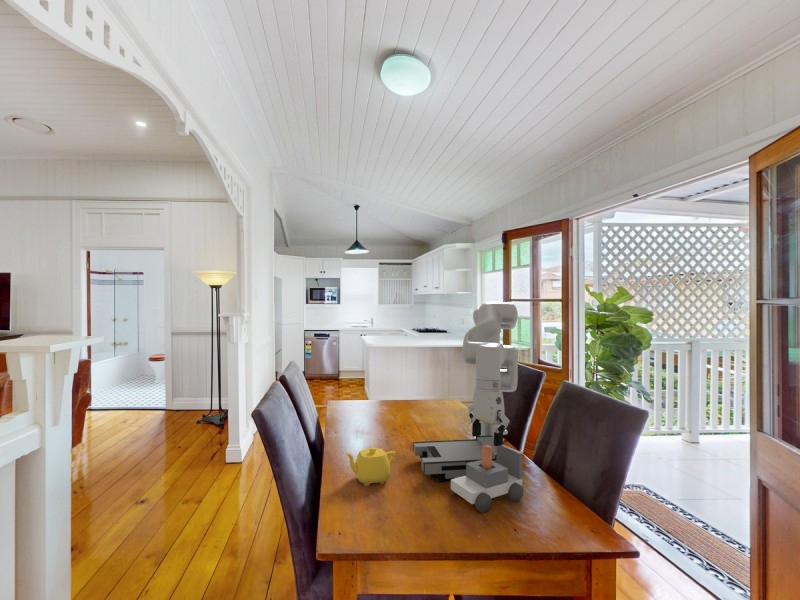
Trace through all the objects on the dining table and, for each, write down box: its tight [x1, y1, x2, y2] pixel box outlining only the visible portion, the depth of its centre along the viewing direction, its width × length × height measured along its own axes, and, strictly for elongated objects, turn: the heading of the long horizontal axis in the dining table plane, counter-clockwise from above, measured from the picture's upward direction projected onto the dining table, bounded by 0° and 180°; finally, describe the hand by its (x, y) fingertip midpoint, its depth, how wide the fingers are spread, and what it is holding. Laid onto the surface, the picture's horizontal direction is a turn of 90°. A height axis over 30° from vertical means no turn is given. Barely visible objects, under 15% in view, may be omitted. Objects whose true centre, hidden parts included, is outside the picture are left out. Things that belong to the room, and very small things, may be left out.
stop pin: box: [482, 445, 492, 470], centre depth 117 cm, size 3×3×10 cm
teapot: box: [344, 446, 397, 487], centre depth 127 cm, size 18×11×11 cm, turn 110°
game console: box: [412, 435, 497, 483], centre depth 137 cm, size 21×32×8 cm, turn 99°
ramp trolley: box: [449, 444, 525, 514], centre depth 117 cm, size 20×13×14 cm, turn 119°
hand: (487, 440), depth 117 cm, fingers open, 9 cm apart
